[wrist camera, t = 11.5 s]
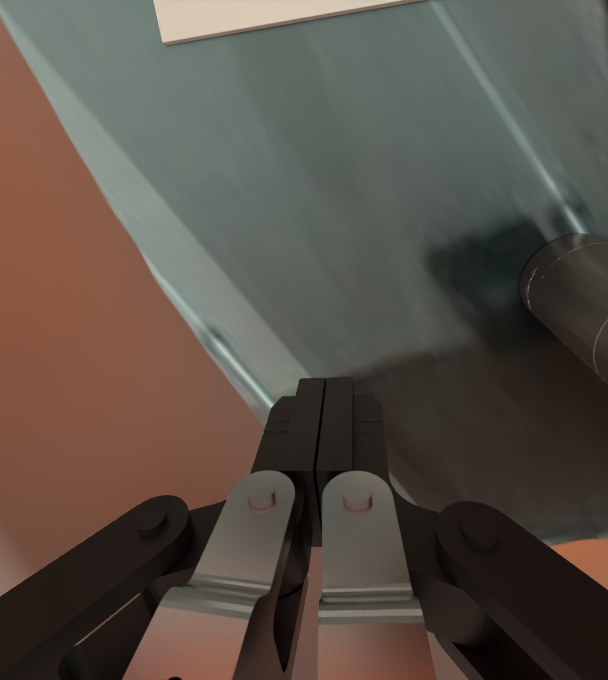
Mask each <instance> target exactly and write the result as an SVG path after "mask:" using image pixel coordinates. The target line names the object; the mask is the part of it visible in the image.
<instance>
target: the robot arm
mask: <svg viewBox="0 0 608 680" xmlns="http://www.w3.org/2000/svg"><path fill="white" fill-rule="evenodd" d="M520 295H521V299H522V301H523V303H524V305H525V307H526V308H527V309H528V310H529V311H530V312H531V313H532V314H533V315H534V316H535V317H537V318H538V319H539V320H540V321H541V322H542V323H543V324H544V325H545V326H546V327H547V328H548V329H549V330H550V331H551V332H552V333H553V334H554V335H555V336H556V337H558V338H559V339H560V340H561V341H562V342H563V343H564V344H565V345H566V346H567V347H568V348H569V349H570V350H571V351H572V352H573V353H574V354H576V355H577V356H578V357H579V358H580V359H581V360H582V361H583V362H584V363H585V364H586V365H587V366H588V367H589V368H590V369H591V370H593V371H594V372H595V373H596V374H597V375H598V376H599V377H600V378H601V379H602V380H603V381H604V382H606V383H607V384H608V240H606V239H603V238H600V237H597V236H595V235H589V234H572V235H568V236H564V237H561V238H559V239H556V240H554V241H552V242H550V243H548V244H547V245H546V246H544V247H543V248H541V249H540V250H539V251H538V252H537V253H536V254H535V255H534V256H533V257H532V258H531V259H530V261H529V262H528V263H527V265H526V267H525V269H524V271H523V273H522V276H521V280H520ZM311 547H322V598H321V599H320V601H319V614H318V680H437V677H436V672H435V668H434V663H433V658H432V654H431V649H430V645H429V640H428V635H427V631H429V632H431V633H434V634H435V637H436V639H437V641H438V643H439V644H440V645H441V647H442V648H443V649H444V650H445V652H446V653H447V654H448V655H449V656H450V658H451V659H452V660H453V661H454V662H455V663H456V665H457V666H458V667H459V668H460V669H461V671H462V672H463V673H464V674H465V675H466V677H467V678H468V679H469V680H608V590H607V589H606V588H604V587H603V586H602V585H600V584H599V583H598V582H596V581H595V580H593V579H592V578H591V577H589V576H588V575H587V574H585V573H584V572H582V571H581V570H580V569H578V568H577V567H576V566H574V565H573V564H572V563H570V562H569V561H567V560H566V559H565V558H563V557H562V556H561V555H559V554H558V553H557V552H555V551H554V550H553V549H551V548H550V547H548V546H547V545H546V544H544V543H543V542H542V541H540V540H539V539H538V538H536V537H535V536H533V535H532V534H531V533H529V532H528V531H527V530H525V529H524V528H523V527H521V526H520V525H518V524H517V523H516V522H514V521H513V520H512V519H510V518H509V517H507V516H506V515H505V514H503V513H502V512H500V511H499V510H497V509H495V508H493V507H491V506H488V505H486V504H482V503H478V502H471V501H463V502H457V503H454V504H451V505H449V506H447V507H446V508H445V509H444V510H442V512H441V513H438V512H435V511H431V510H428V509H425V508H421V507H419V506H416V505H414V504H412V503H410V502H408V501H407V500H405V499H404V498H402V497H401V496H400V495H399V494H398V493H397V492H396V491H395V489H394V488H393V486H392V484H391V482H390V479H389V472H388V462H387V453H386V443H385V434H384V424H383V414H382V405H381V404H380V403H379V402H378V400H377V399H376V398H375V396H374V395H373V394H359V395H354V383H353V377H332V378H327V381H326V378H304V379H300V380H299V384H298V388H297V392H296V396H282V397H281V398H280V399H279V400H278V401H277V402H276V403H275V405H274V406H273V407H272V408H271V411H270V414H269V417H268V420H267V423H266V426H265V430H264V434H263V436H262V439H261V442H260V445H259V448H258V452H257V455H256V458H255V461H254V464H253V467H252V470H251V474H250V475H248V476H246V477H244V478H243V479H241V480H240V481H239V482H238V483H237V484H236V485H235V486H234V487H233V489H232V490H231V492H230V494H229V497H228V499H226V500H224V501H222V502H219V503H216V504H213V505H209V506H205V507H202V508H198V509H194V510H190V511H189V510H188V507H187V505H186V503H185V502H184V501H183V500H182V499H181V498H178V497H176V496H171V495H164V496H158V497H154V498H151V499H148V500H146V501H144V502H143V503H141V504H139V505H137V506H136V507H134V508H133V509H131V510H130V511H128V512H127V513H126V514H124V515H122V516H121V517H119V518H118V519H116V520H115V521H113V522H112V523H110V524H109V525H108V526H106V527H104V528H103V529H101V530H100V531H98V532H97V533H95V534H94V535H92V536H91V537H89V538H88V539H86V540H85V541H84V542H82V543H80V544H79V545H77V546H76V547H74V548H73V549H71V550H70V551H68V552H67V553H65V554H64V555H62V556H61V557H59V558H58V559H56V560H55V561H53V562H52V563H50V564H49V565H47V566H46V567H44V568H43V569H41V570H40V571H38V572H37V573H35V574H33V575H32V576H31V577H29V578H27V579H26V580H24V581H23V582H21V583H20V584H18V585H17V586H16V587H14V588H12V589H11V590H9V591H8V592H6V593H5V594H3V595H2V596H1V597H0V680H292V674H293V667H294V662H295V657H296V651H297V646H298V640H299V635H300V629H301V623H302V617H303V612H304V606H305V601H306V595H307V590H308V585H309V572H308V570H309V563H310V554H311ZM138 593H140V595H139V596H138V597H137V598H136V599H134V600H133V601H132V602H131V603H129V604H128V605H127V606H126V607H125V608H123V609H122V610H121V611H120V612H119V613H117V614H116V615H115V616H113V617H112V618H111V619H110V620H109V621H107V622H106V623H105V624H104V625H102V626H101V627H100V628H99V629H97V630H96V631H95V632H94V633H93V634H91V635H90V636H89V637H88V638H86V639H85V640H84V641H82V642H81V643H80V644H78V645H76V646H74V645H75V644H76V643H77V642H79V641H80V640H81V639H82V638H84V637H85V636H86V635H88V634H89V633H90V632H91V631H92V630H94V629H95V628H96V627H97V626H99V625H100V624H101V623H102V622H104V621H105V620H106V619H107V618H109V617H110V616H111V615H112V614H113V613H115V612H116V611H117V610H118V609H120V608H121V607H122V606H123V605H125V604H126V603H127V602H128V601H130V600H131V599H132V598H133V597H134V596H136V595H137V594H138ZM426 630H427V631H426Z"/></svg>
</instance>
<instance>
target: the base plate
mask: <svg viewBox="0 0 608 680" xmlns="http://www.w3.org/2000/svg"><path fill="white" fill-rule="evenodd" d="M153 1H154V5H155V10H156V14H157V19H158V23H159V28H160V33H161V37H162V42H163V43H164V44H166V45H172V44H177V43H183V42H189V41H194V40H200V39H206V38H212V37H217V36H223V35H229V34H234V33H240V32H246V31H252V30H257V29H263V28H269V27H274V26H280V25H286V24H292V23H297V22H303V21H309V20H314V19H320V18H326V17H332V16H337V15H343V14H349V13H354V12H360V11H366V10H372V9H377V8H383V7H389V6H394V5H400V4H406V3H412V2H417V1H423V0H153Z"/></svg>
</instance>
